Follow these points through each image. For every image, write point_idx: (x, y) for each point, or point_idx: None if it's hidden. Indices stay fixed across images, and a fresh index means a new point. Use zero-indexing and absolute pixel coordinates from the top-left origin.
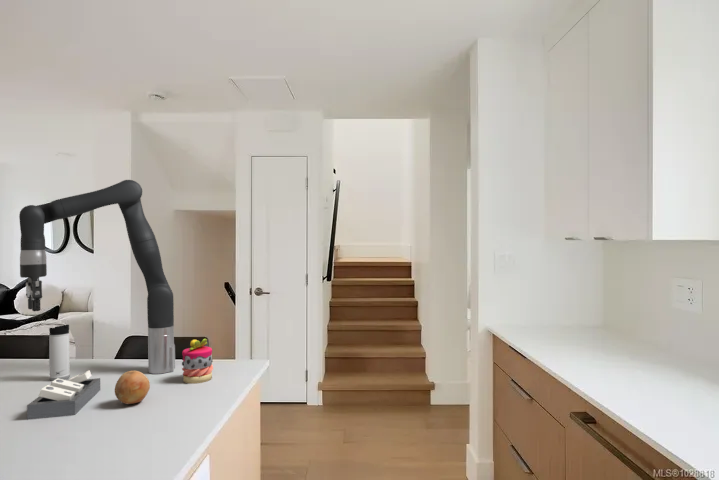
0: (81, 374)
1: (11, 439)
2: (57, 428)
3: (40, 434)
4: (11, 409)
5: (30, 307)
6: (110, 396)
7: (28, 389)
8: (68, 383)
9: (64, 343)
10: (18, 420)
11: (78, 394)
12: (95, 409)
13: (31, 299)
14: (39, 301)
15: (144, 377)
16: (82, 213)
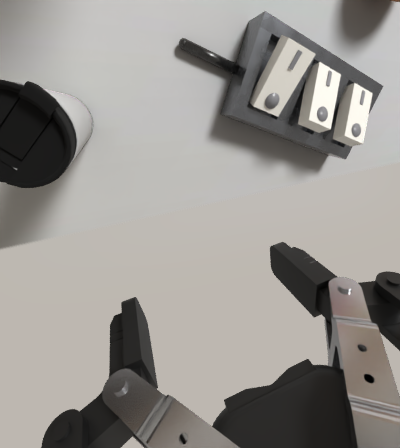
0: (298, 63)
1: (380, 162)
2: (390, 112)
3: (392, 131)
4: (266, 185)
5: (144, 322)
6: (311, 6)
7: (146, 181)
8: (325, 96)
9: (71, 108)
10: (323, 166)
11: (354, 77)
12: (361, 51)
13: (151, 369)
14: (320, 276)
15: None
16: None
